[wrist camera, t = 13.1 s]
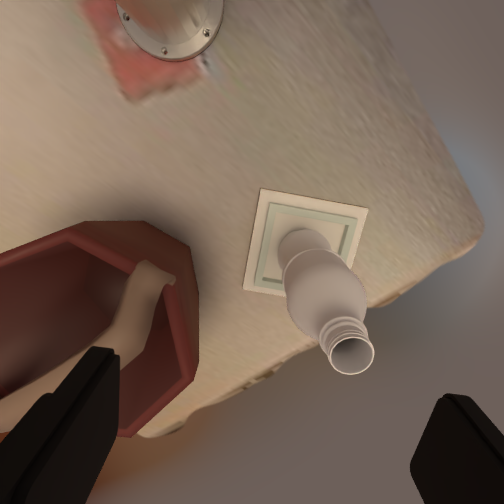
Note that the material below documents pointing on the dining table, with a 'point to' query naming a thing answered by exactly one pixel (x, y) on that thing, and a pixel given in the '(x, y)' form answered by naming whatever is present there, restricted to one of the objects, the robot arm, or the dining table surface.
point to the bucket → (98, 316)
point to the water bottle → (326, 299)
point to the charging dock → (293, 219)
